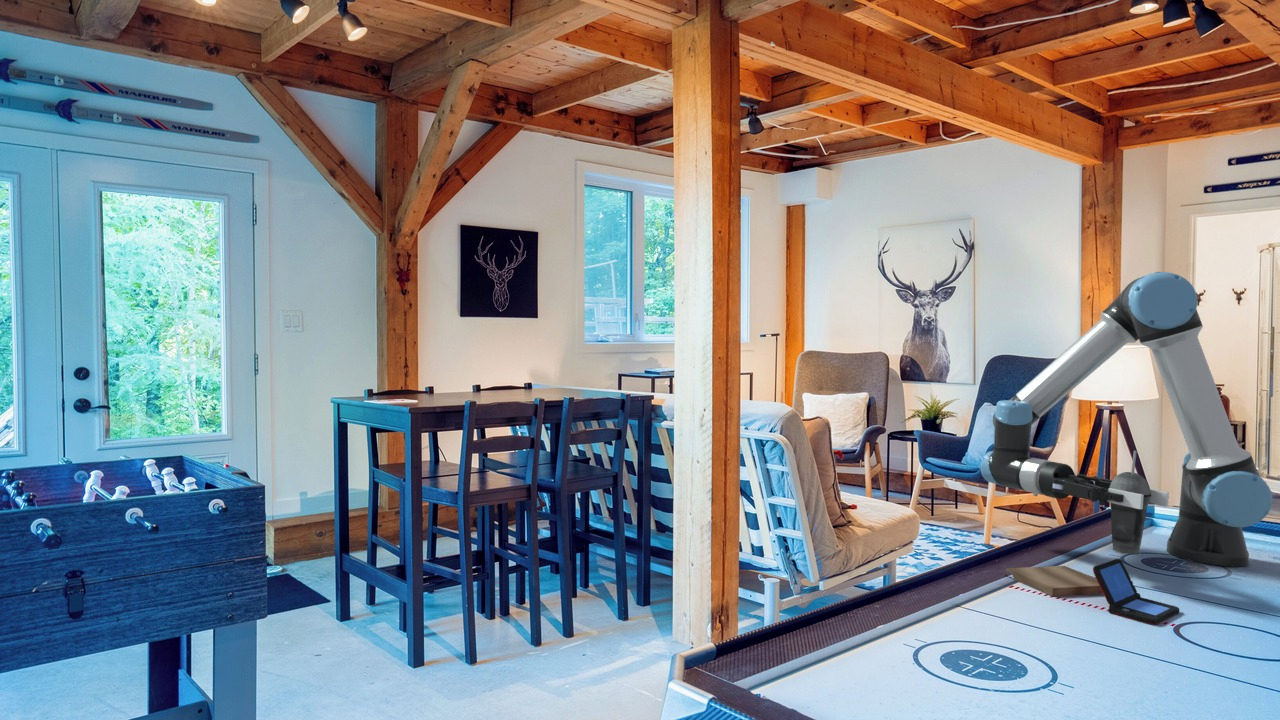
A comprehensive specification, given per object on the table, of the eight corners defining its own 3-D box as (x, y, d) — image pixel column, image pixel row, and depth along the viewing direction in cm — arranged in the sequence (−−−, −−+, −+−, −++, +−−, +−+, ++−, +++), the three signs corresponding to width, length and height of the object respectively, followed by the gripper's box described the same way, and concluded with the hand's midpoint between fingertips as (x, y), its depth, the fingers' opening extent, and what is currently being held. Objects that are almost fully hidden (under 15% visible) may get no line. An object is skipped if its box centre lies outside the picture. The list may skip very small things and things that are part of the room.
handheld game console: (1155, 628, 140) (1159, 583, 139) (1087, 608, 148) (1090, 566, 147) (1181, 613, 148) (1185, 572, 147) (1115, 596, 156) (1118, 556, 155)
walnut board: (1063, 573, 168) (1064, 565, 168) (1113, 592, 157) (1113, 585, 157) (1005, 575, 164) (1006, 568, 164) (1052, 596, 153) (1052, 588, 153)
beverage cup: (1136, 547, 168) (1142, 448, 167) (1154, 557, 161) (1161, 453, 160) (1098, 545, 169) (1104, 446, 168) (1115, 555, 162) (1121, 451, 161)
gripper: (1077, 493, 185) (1185, 516, 165) (1014, 498, 176) (1120, 524, 156) (1080, 459, 185) (1187, 478, 164) (1017, 463, 176) (1122, 484, 155)
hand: (1154, 500), depth 160 cm, fingers closed on beverage cup, 7 cm apart
